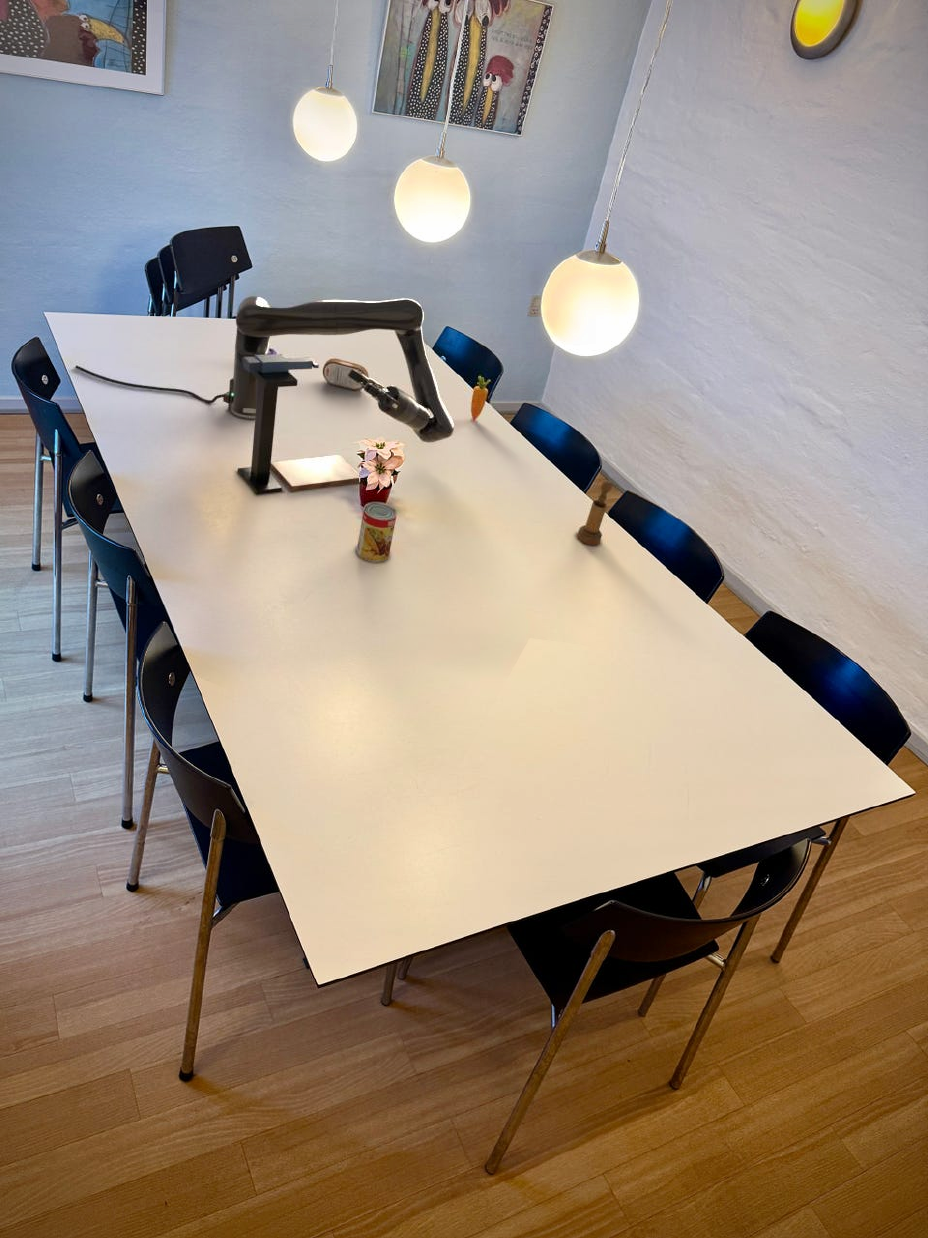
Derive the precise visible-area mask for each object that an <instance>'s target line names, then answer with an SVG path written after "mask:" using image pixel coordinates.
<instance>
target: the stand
mask: <svg viewBox="0 0 928 1238" xmlns="http://www.w3.org/2000/svg"><path fill="white" fill-rule="evenodd" d="M243 362H244V357H242V364H243ZM251 373H252V374H253V375H254V376H255V377H256V378H257V379H258V390H257V403H256V415H255V419H254V426H253V427H254V429H253V430H254V431H253V441H252V454H251V466H248V467H247V466H246V467H238V468H237V473H238V475H240V478H242V479H243V480H244V482H245V483H246V484H247V485H248V487H249V488H250V489H251V491H253V492H254V494H255V495H256V496H259V495H267V494H274V493H281V492H283V487H282V485H281V484H280V483H278V481H277V480H276V479H275V477H273V476H272V474H271V468H270V467H271V462H272V456H273V446H274V445H273V444H274V434H275V425H276V424H275V423H276V414H277V413H276V412H277V404H278V403H277V401H278V391H279V388H287V387H288V388H289V387H297V386H298V381H299V380H298V379H297V378H296V377H295V376H294V375H292V373H290V371H289V372H270V373H261V372H251Z"/></svg>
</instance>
